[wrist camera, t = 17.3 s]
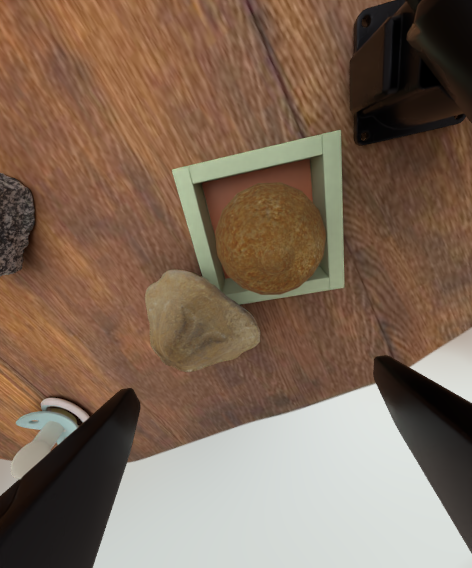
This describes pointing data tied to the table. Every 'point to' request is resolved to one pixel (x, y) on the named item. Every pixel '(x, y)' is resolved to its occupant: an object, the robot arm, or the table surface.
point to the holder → (267, 169)
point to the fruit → (270, 238)
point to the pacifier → (45, 432)
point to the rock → (14, 223)
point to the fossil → (196, 322)
